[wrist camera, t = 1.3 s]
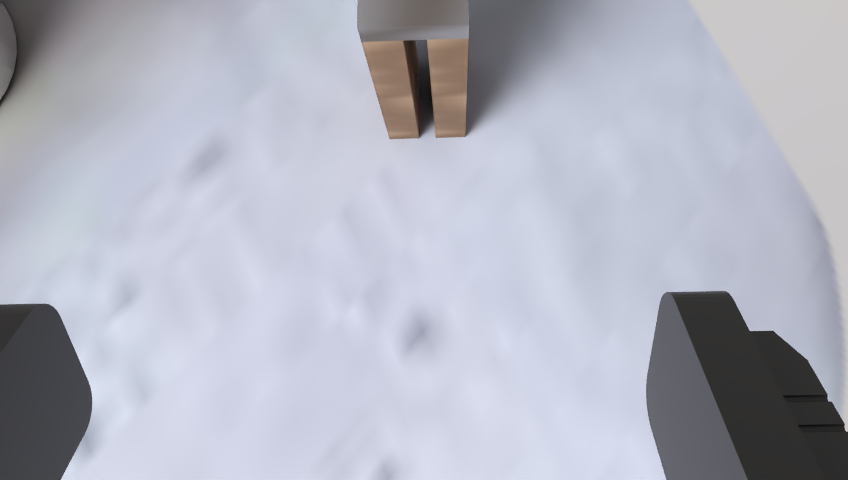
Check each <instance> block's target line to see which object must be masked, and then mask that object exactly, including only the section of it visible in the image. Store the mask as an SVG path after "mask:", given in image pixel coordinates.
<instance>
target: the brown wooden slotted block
mask: <svg viewBox="0 0 848 480" xmlns="http://www.w3.org/2000/svg"><path fill="white" fill-rule="evenodd" d="M357 28H358V32H359V35H360V39H361V42H362V46H363V49H364V52H365V56H366V59H367V63H368V66H369V70H370V73H371V76H372V80H373V83H374V87H375V90H376V94H377V97H378V100H379V104H380V107H381V111H382V114H383V118H384V121H385V124H386V128H387V131H388V135H389V138H390V139H404V138H419V101H418V56H417V48H416V40H427V47H428V58H429V68H430V79H431V90H432V101H433V112H434V123H435V134H436V138H439V137H465V132H466V103H467V74H468V45H469V0H357Z"/></svg>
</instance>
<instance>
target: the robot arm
mask: <svg viewBox="0 0 848 480" xmlns="http://www.w3.org/2000/svg"><path fill="white" fill-rule="evenodd" d="M16 56H17V43H16V33H15V30H14V26H13V23H12V19H11V17H10V16H9V14H8V12H7V10H6V8H5V7H4V5H3V3H2V2H1V1H0V99H1V98H2V96H3V95H4V93H5V92H6V90H7V88H8V85H9V83H10V80H11V78H12V75H13V73H14V68H15V62H16ZM646 398H647V409H648V416H649V421H650V425H651V429H652V432H653V436H654V439H655V443H656V446H657V449H658V453H659V456H660V459H661V463H662V466H663V469H664V473H665V476H666V480H848V432H846V431H845V428H844V425H845V424H844V422H843V420H842V419H841V417H840V415H839V414H838V412H837V410H836V408H835V407H834V405H833V403H832V402H828V399H827V393H826V391H825V390H824V388H823V386H822V384H821V383H820V381H819V379H818V378H817V376H816V374H815V372H814V371H813V369H812V367H811V366H810V364H809V362H808V360H807V359H805V358H804V357H803V356H802V355H801V354H800V353H798V352H797V351H796V350H795V349H794V348H793V347H791V346H790V345H789V344H788V343H787V342H785V341H784V340H783V339H782V338H781V337H780V336H778V335H777V334H776V333H775V332H774V331H749V329H748V327H747V325H746V323H745V321H744V319H743V317H742V315H741V313H740V311H739V309H738V307H737V305H736V304H735V302H734V300H733V298H732V296H731V295H730V294H729V293H728V292H726V291H706V292H666V293H665V294H664V295H663V296H662V298H661V302H660V306H659V311H658V317H657V323H656V329H655V334H654V340H653V346H652V352H651V357H650V363H649V369H648V375H647V384H646ZM91 411H92V394H91V388H90V385H89V382H88V380H87V377H86V375H85V373H84V370H83V368H82V366H81V363H80V361H79V359H78V356H77V354H76V352H75V349H74V347H73V345H72V343H71V340H70V338H69V336H68V333H67V331H66V329H65V326H64V324H63V322H62V319H61V317H60V315H59V313H58V312H57V310H56V309H55V308H54V307H53V306H51V305H49V304H8V305H0V480H61V478H62V476H63V474H64V472H65V470H66V468H67V466H68V465H69V463H70V461H71V459H72V457H73V455H74V453H75V451H76V449H77V447H78V445H79V444H80V442H81V440H82V438H83V436H84V434H85V432H86V430H87V427H88V424H89V421H90V417H91Z"/></svg>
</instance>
